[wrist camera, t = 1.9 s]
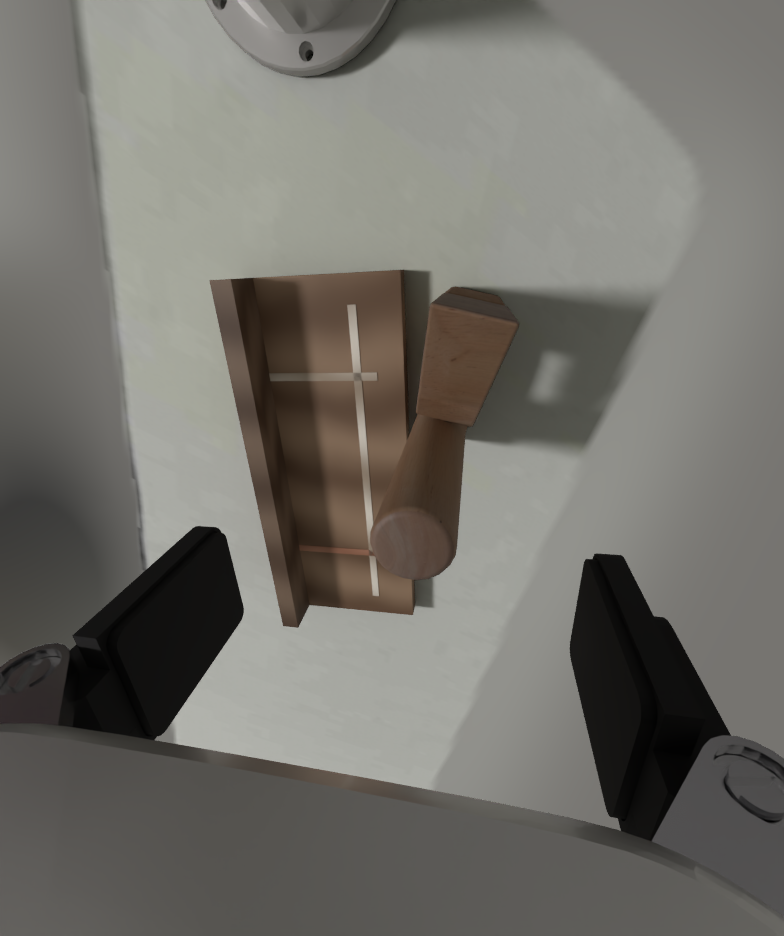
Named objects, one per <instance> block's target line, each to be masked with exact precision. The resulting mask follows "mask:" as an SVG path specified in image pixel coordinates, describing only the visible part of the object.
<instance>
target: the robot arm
mask: <svg viewBox="0 0 784 936" xmlns="http://www.w3.org/2000/svg"><path fill="white" fill-rule="evenodd" d="M205 1H206V3H207V5H208V7H209V8H210V10H211V12H212V14H213V16H214V18H215V19H216V20H217V22H218V23H219V24H220V25H221V27H222V28H223V29H224V31H225V32H226V33H227V35H228V36H229V37H230V38H231V39H232V40H233V41H234V42H235V43H236V44H237V45H238V46H239V47H240V48H241V49H242V50H243V51H244V52H245V53H247V54H248V55H249V56H251V57H252V58H253V59H255V60H256V61H257V62H259V63H260V64H261V65H263V66H265V67H268V68H270V69H272V70H274V71H276V72H279V73H282V74H287V75H293V76H298V77H302V76H314V75H320V74H323V73H326V72H329V71H332V70H335V69H337V68H339V67H340V66H342V65H343V64H345V63H347V62H348V61H350V60H351V59H353V58H354V57H356V56H357V55H358V54H359V53H360V52H361V51H362V50H363V49H364V48H365V47H366V46H367V45H368V44H369V43H370V42H371V41H372V40H373V38H374V37H375V35H376V34H377V32H378V31H379V29H380V28H381V27H382V25H383V24H384V22H385V21H386V19H387V18H388V15H389V13H390V11H391V9H392V7H393V5H394V3H395V1H396V0H205ZM226 3H227V4H226ZM225 4H226V6H225ZM311 53H313V57H312V59H311V60H310V61H308V56H309V54H311ZM243 613H244V608H243V603H242V599H241V595H240V591H239V587H238V583H237V579H236V575H235V571H234V567H233V563H232V559H231V555H230V551H229V547H228V543H227V539H226V536H225V535H224V534H223V533H221V531H220V530H219V529H218V528H216V527H203V526H197V527H194V528H193V529H192V530H190V531H189V532H188V533H187V534H186V535H185V536H184V537H183V538H181V539H180V540H179V541H178V542H177V543H176V544H175V545H174V546H172V547H171V548H170V549H169V550H168V551H167V552H166V553H165V554H164V555H162V556H161V557H160V558H159V559H158V560H157V561H156V562H155V563H153V564H152V565H151V566H150V567H149V568H148V569H147V570H146V571H144V572H143V573H142V574H141V575H140V576H139V577H138V578H137V579H136V580H134V581H133V582H132V583H131V584H130V585H129V586H128V587H126V588H125V589H124V590H123V591H122V592H121V593H120V594H119V595H118V596H117V597H115V598H114V599H113V600H112V601H111V602H110V603H109V604H107V605H106V606H105V607H104V608H103V609H102V610H101V611H100V612H98V613H97V614H96V615H95V616H94V617H93V618H92V619H91V620H89V621H88V622H87V623H86V624H85V625H84V626H83V627H82V628H81V629H79V630H78V631H77V632H76V633H75V634H74V635H73V638H74V640H75V642H76V644H77V645H76V646H74V647H73V648H72V649H71V650H69V648H68V647H67V646H66V645H63V644H59V643H51V644H44V645H41V646H37V647H34V648H31V649H29V650H27V651H24V652H22V653H20V654H18V655H17V656H15V657H13V658H12V659H10V660H8V661H7V662H6V663H5V664H3V665H2V666H1V667H0V936H784V758H782V757H781V756H779V755H778V754H776V753H775V752H774V751H772V750H770V749H768V748H766V747H764V746H762V745H760V744H758V743H756V742H754V741H751V740H747V739H745V738H741V737H738V736H731V735H730V733H729V731H728V729H727V727H726V726H725V724H724V722H723V720H722V718H721V716H720V714H719V713H718V711H717V709H716V707H715V705H714V704H713V702H712V700H711V698H710V696H709V695H708V692H707V691H706V689H705V687H704V685H703V683H702V681H701V679H700V678H699V676H698V674H697V672H696V670H695V668H694V667H693V665H692V663H691V661H690V659H689V657H688V655H687V654H686V652H685V650H684V648H683V646H682V644H681V643H680V641H679V639H678V637H677V635H676V633H675V632H674V630H673V628H672V626H671V625H670V623H669V622H668V620H666V619H665V618H663V617H654V616H653V614H652V612H651V610H650V608H649V606H648V604H647V602H646V600H645V598H644V596H643V594H642V592H641V590H640V588H639V586H638V584H637V582H636V581H635V579H634V577H633V575H632V573H631V571H630V569H629V567H628V565H627V563H626V561H625V559H624V557H623V556H621V555H610V554H594V557H593V559H586V560H585V562H584V566H583V572H582V578H581V583H580V589H579V595H578V600H577V606H576V612H575V618H574V624H573V629H572V635H571V641H570V656H571V662H572V666H573V670H574V675H575V679H576V683H577V687H578V692H579V695H580V700H581V704H582V709H583V713H584V717H585V721H586V726H587V730H588V734H589V738H590V743H591V747H592V751H593V755H594V759H595V764H596V768H597V772H598V776H599V781H600V785H601V789H602V793H603V798H604V802H605V806H606V809H607V812H608V814H609V816H610V817H615V818H618V821H619V825H620V828H621V831H619V830H616V829H611V828H608V827H604V826H600V825H596V824H592V823H588V822H585V821H580V820H576V819H573V818H569V817H564V816H559V815H554V814H549V813H544V812H539V811H534V810H530V809H525V808H520V807H515V806H510V805H505V804H500V803H496V802H491V801H486V800H481V799H475V798H470V797H465V796H460V795H454V794H449V793H443V792H438V791H433V790H427V789H422V788H417V787H411V786H406V785H400V784H395V783H390V782H384V781H379V780H374V779H368V778H363V777H357V776H352V775H346V774H341V773H335V772H330V771H324V770H319V769H313V768H308V767H302V766H297V765H291V764H286V763H280V762H274V761H269V760H263V759H258V758H252V757H246V756H241V755H235V754H230V753H224V752H218V751H213V750H207V749H201V748H195V747H189V746H184V745H178V744H172V743H166V742H160V741H155V738H156V737H157V736H160V735H162V734H163V733H164V732H165V731H166V729H167V728H168V727H169V725H170V724H171V722H172V721H173V719H174V718H175V716H176V715H177V714H178V712H179V711H180V709H181V708H182V706H183V705H184V703H185V702H186V700H187V699H188V697H189V696H190V695H191V693H192V692H193V690H194V689H195V687H196V686H197V684H198V683H199V681H200V680H201V679H202V677H203V676H204V674H205V673H206V671H207V670H208V668H209V667H210V665H211V664H212V662H213V661H214V660H215V658H216V657H217V655H218V654H219V652H220V651H221V649H222V648H223V646H224V645H225V643H226V642H227V641H228V639H229V638H230V636H231V635H232V633H233V632H234V630H235V629H236V627H237V626H238V625H239V623H240V621H241V620H242V617H243Z"/></svg>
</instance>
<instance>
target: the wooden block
mask: <svg viewBox="0 0 784 936" xmlns="http://www.w3.org/2000/svg"><path fill="white" fill-rule="evenodd" d="M518 328H519V322H518V321H517V319H516V318H515V317H514V315H513V314H512V312H511V311H510V309H509V308H508V307H507V306H505V304H504V303H503V301H502V300H501V298H499V297H498V296H496V295H492V294H487V293H483V292H478V291H474V290H469V289H465V288H460V287H451V288H450V289H449V290H448V291H446V292H445V293H443V294H442V295H441V296H440V297H438V298H437V299H436V300H435V301H433V302H432V303H431V305H430V307H429V315H428V322H427V330H426V337H425V345H424V353H423V360H422V368H421V375H420V383H419V390H418V398H417V405H416V413H417V414H418V415H417V417H416V420H415V422H414V425H413V427H412V430H411V432H410V435H409V437H408V440H407V442H406V445H405V447H404V449H403V452H402V454H401V457H400V459H399V462H398V464H397V467H396V469H395V472H394V474H393V477H392V479H391V482H390V484H389V487H388V489H387V492H386V494H385V497H384V499H383V501H382V504H381V506H380V509H379V511H378V514H377V516H376V519H375V521H374V524H373V526H372V529H371V531H370V544H371V547H372V550H373V553H374V555H375V557H376V559H377V560H378V561H379V563H380V564H381V565H382V566H383V567H384V568H385V569H387V570H388V571H389V572H391V573H392V574H395V575H397V576H399V577H402V578H406V579H412V580H421V579H429V578H431V577H434V576H436V575H439V574H440V573H441V572H443V571H444V570H445V569H446V568H447V567H448V566H449V565H450V564H451V562H452V560H453V559H454V557H455V555H456V549H457V539H458V525H459V512H460V498H461V485H462V472H463V458H464V445H465V434H466V430H467V427H472V426H473V425H474V423H475V421H476V419H477V416H478V414H479V412H480V410H481V408H482V406H483V403H484V401H485V399H486V397H487V395H488V393H489V390H490V388H491V386H492V384H493V382H494V380H495V377H496V375H497V373H498V371H499V369H500V367H501V364H502V362H503V360H504V358H505V356H506V354H507V351H508V349H509V347H510V345H511V343H512V341H513V338H514V336H515V334H516V332H517V330H518Z"/></svg>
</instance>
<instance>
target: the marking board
mask: <svg viewBox="0 0 784 936" xmlns="http://www.w3.org/2000/svg"><path fill="white" fill-rule="evenodd" d="M210 285H211V290H212V294H213V299H214V304H215V308H216V313H217V318H218V322H219V327H220V332H221V336H222V341H223V346H224V350H225V355H226V360H227V364H228V369H229V374H230V379H231V383H232V388H233V393H234V397H235V402H236V407H237V411H238V416H239V421H240V425H241V430H242V435H243V439H244V444H245V449H246V453H247V458H248V463H249V468H250V472H251V477H252V482H253V486H254V491H255V496H256V500H257V505H258V510H259V514H260V519H261V524H262V528H263V533H264V538H265V542H266V547H267V552H268V557H269V561H270V566H271V571H272V575H273V580H274V585H275V589H276V594H277V599H278V603H279V608H280V613H281V617H282V622H283V626H289V627H299V625H300V623H301V621H302V619H303V617H304V615H305V613H306V611H307V609H308V607H309V605H317V606H327V607H337V608H347V609H357V610H367V611H377V612H387V613H397V614H408V615H413V612H414V607H415V588H414V580H412V579H406V578H402V577H399V576H397V575H395V574H392V573H391V572H389V571H388V570H387V569H385V568H384V567H383V566H382V565H381V564H380V563H379V561H378V560H377V559H376V557H375V555H374V553H373V550H372V547H371V544H370V531H371V529H372V526H373V524H374V521H375V519H376V516H377V514H378V511H379V509H380V506H381V504H382V501H383V499H384V497H385V494H386V492H387V489H388V487H389V484H390V482H391V479H392V477H393V474H394V472H395V469H396V467H397V464H398V462H399V459H400V457H401V454H402V452H403V449H404V447H405V445H406V442H407V440H408V437H409V409H408V379H407V349H406V320H405V290H404V270H392V271H373V272H355V273H336V274H318V275H299V276H281V277H262V278H244V279H226V280H210Z"/></svg>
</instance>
